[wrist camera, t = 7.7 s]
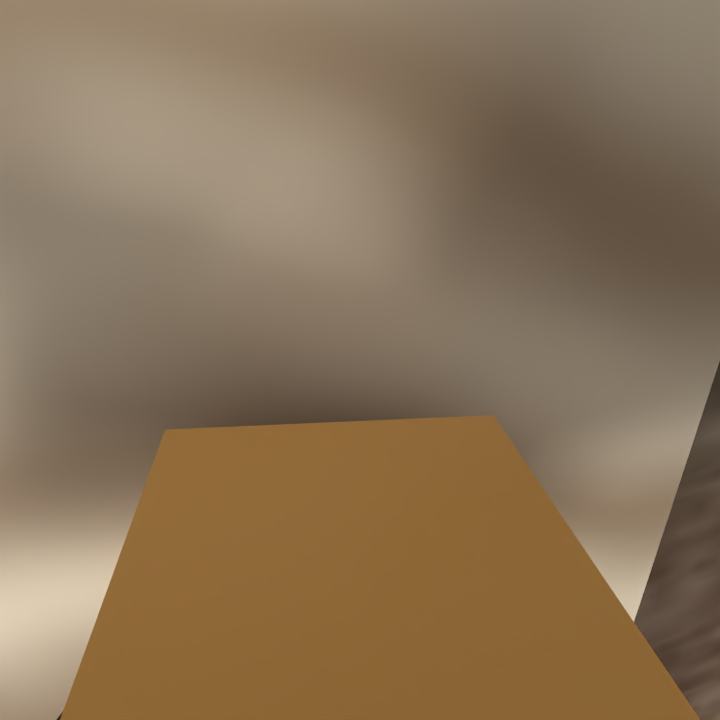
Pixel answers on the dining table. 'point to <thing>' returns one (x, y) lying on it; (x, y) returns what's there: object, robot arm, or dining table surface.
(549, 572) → the block
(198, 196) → the board
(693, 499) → the dining table surface
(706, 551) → the dining table surface
